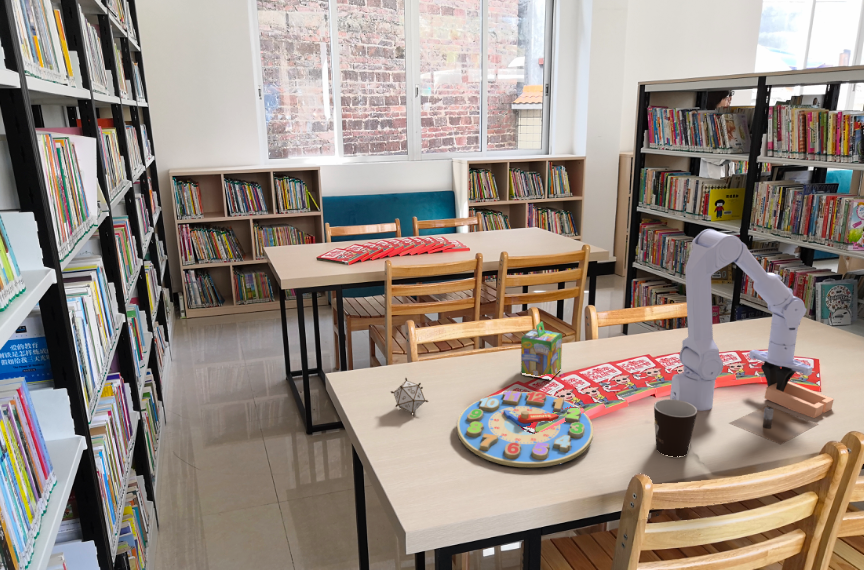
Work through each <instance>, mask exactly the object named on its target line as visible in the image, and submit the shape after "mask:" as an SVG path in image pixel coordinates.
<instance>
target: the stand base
mask: <svg viewBox="0 0 864 570" xmlns="http://www.w3.org/2000/svg"><path fill="white" fill-rule="evenodd" d="M765 407H770V408H773V409H774V411H773V419H772V427H771V429H766V428H764V427H763V418H764V410H765ZM729 424H730V425H733V427H737V428H740V429H742V430H744V431H747V432H750V433H751V434H755V435H756V436H759V437H762V438H764V439H767V440H769V441H771V442H773V443H776V444H779V445H782V444H784V443H786V442H788V441H789V440H792V439H793V438H795V437H797V436H799V435H801V434H804V433H805V432H807V431H809V430H811V429H812V428H814V427H816V426H819V423H816V422H814V421H811V420H809V419H805V418H803V417H800V416H798V415H795V414H792V413H789V412H786V411H784V410H781V409H779V408H776V407H774V406H770V405H765V406H763V407H761V408H758V409H756V410H755V411H752V412H750V413H748V414H746V415H744V416H741V417H739V418H736V419H734V420H733V421H730V422H729Z"/></svg>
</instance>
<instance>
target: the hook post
mask: <svg viewBox="0 0 864 570" xmlns="http://www.w3.org/2000/svg"><path fill="white" fill-rule="evenodd" d="M764 407H765V406H764ZM770 407H771V406H770ZM770 407H765V410H764V418H763V427H764V428H766V429H771V427H772V419H773V411H774V409H773V408H774V407H773V408H770Z"/></svg>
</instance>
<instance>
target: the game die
mask: <svg viewBox="0 0 864 570" xmlns="http://www.w3.org/2000/svg"><path fill="white" fill-rule="evenodd" d="M404 380H405V381H404V382H403V383H401V385H399V387H398V388H396V390H394V391H393V390H391V391H390V393H391V394H393V396H394V399H395V402H396V404H395V408H397V407H398V408H401V409H400V410H404V411H406V412H408V413H410V412H411V414H412V413H413V414H414V413H415V412H416V410H418V409H419V408H420V407H421V406H422V405H424V404H423V403H425V402H426V403H428V402H429V400H428V399H426V398H425V396H424V393H423V391H422V390H423V388H424V387H423V386H421V385H422V383H421V382H419V383H418V384H417V383H414V382H412V381H409V380H408V378H407V377H405V378H404Z"/></svg>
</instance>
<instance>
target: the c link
mask: <svg viewBox="0 0 864 570" xmlns="http://www.w3.org/2000/svg"><path fill="white" fill-rule="evenodd" d="M776 386H777V383H775V384H773V385H771V386H769V387H768V386H767V387H766V389H765V394H764V399H765V400H768V401H770V402H772V403H775V404H777V405H779V406H782V407H783V408H786V409H789V410H791V411H794V412H796V413H799V414H802V415H804V416H807V417H811V418H812V419H815V418H818V417H819V416H821V415H822V414H823V413H824V414H825V413H827V412H829V411H831V410H832V408H833V405H834V404H833V403H834V401H835V399H834V398H833V397H830V396H827V395H825V394H822V393H820V392H816V391H814V390H812V389H809V388H807V387H804V386H802V385H799V384H796V383H794V382H791V381H790V380H789V381H788V383H787V385H786V387H785V389H784V392H782V391H780V390H777V389H776Z"/></svg>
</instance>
